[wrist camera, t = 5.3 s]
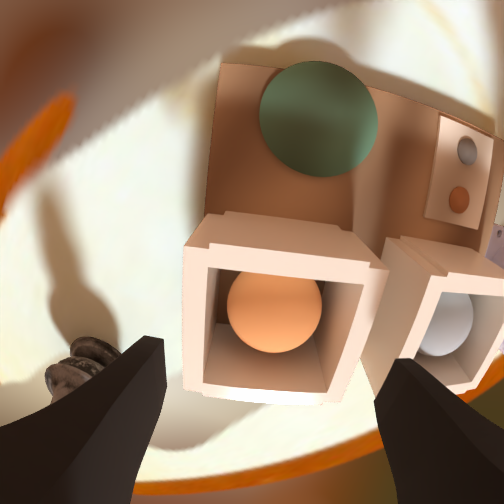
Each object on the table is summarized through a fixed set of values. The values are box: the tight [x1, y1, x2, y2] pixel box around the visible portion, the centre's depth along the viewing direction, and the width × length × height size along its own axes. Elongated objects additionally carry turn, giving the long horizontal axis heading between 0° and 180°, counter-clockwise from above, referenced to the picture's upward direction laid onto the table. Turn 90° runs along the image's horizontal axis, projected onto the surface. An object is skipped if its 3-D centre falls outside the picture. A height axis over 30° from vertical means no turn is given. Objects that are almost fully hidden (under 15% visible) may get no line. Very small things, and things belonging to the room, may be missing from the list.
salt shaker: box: [45, 337, 121, 404], centre depth 13 cm, size 6×6×12 cm
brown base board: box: [204, 61, 504, 325], centre depth 14 cm, size 16×14×2 cm
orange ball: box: [227, 271, 322, 353], centre depth 13 cm, size 4×4×4 cm
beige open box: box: [182, 211, 390, 405], centre depth 12 cm, size 7×7×4 cm
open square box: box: [360, 235, 504, 398], centre depth 12 cm, size 7×7×4 cm
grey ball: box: [417, 292, 473, 356], centre depth 13 cm, size 4×4×4 cm
